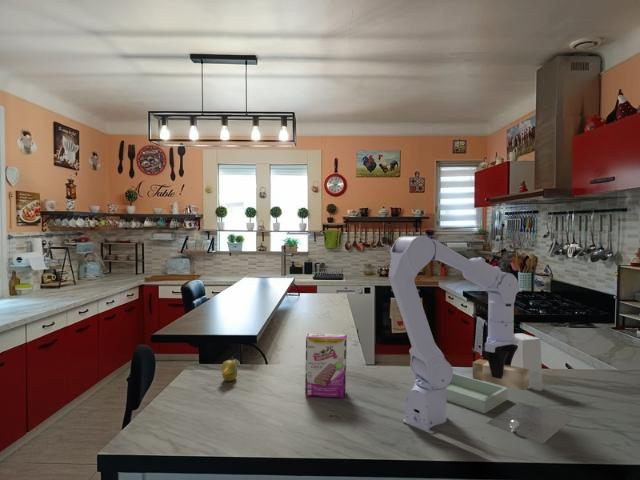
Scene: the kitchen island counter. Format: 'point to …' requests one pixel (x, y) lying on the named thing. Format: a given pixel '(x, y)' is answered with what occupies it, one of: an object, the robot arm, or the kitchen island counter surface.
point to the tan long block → (510, 378)
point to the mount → (530, 422)
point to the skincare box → (529, 359)
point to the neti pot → (229, 370)
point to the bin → (475, 393)
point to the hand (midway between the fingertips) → (500, 375)
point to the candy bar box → (326, 365)
